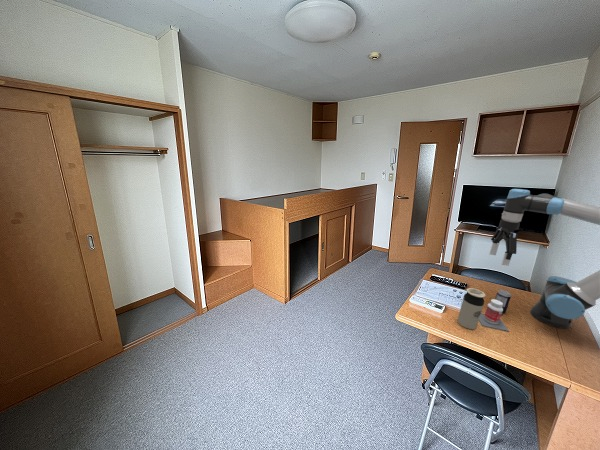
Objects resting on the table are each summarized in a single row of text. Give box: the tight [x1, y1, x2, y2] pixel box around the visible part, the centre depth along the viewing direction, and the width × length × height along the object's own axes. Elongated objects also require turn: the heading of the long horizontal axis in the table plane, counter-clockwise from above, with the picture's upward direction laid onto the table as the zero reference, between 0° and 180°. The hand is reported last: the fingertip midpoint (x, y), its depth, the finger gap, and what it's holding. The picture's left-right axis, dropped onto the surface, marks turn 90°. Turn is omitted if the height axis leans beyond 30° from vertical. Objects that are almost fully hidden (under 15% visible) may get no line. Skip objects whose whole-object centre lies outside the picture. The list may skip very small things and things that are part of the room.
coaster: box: [478, 312, 510, 333], centre depth 122 cm, size 11×11×1 cm
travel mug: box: [456, 287, 486, 330], centre depth 117 cm, size 8×8×18 cm
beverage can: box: [494, 289, 512, 315], centre depth 129 cm, size 6×6×12 cm
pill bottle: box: [484, 298, 503, 324], centre depth 121 cm, size 6×6×11 cm
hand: (498, 259), depth 127 cm, fingers open, 13 cm apart
